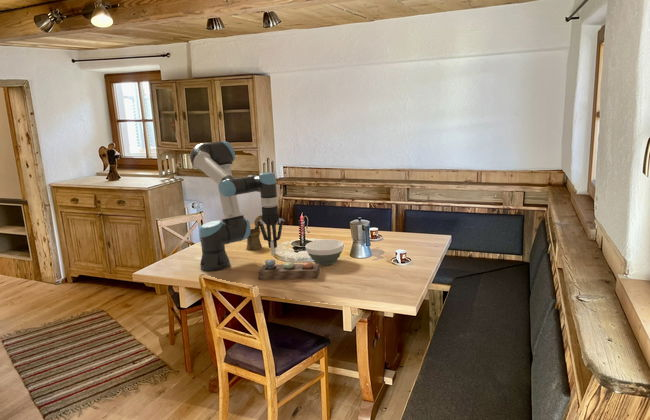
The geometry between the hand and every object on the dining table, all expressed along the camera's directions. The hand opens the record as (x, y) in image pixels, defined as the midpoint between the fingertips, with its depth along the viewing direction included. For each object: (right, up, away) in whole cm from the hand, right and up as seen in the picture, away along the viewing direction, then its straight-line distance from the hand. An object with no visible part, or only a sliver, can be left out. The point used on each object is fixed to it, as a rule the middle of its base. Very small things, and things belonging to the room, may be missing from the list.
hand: (273, 254), depth 223 cm
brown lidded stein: (-16, -1, +53) cm, 56 cm away
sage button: (+8, -9, 0) cm, 12 cm away
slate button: (-1, -8, +1) cm, 8 cm away
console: (+8, -10, +1) cm, 13 cm away
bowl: (+25, -6, +17) cm, 31 cm away
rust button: (+17, -9, -1) cm, 19 cm away
